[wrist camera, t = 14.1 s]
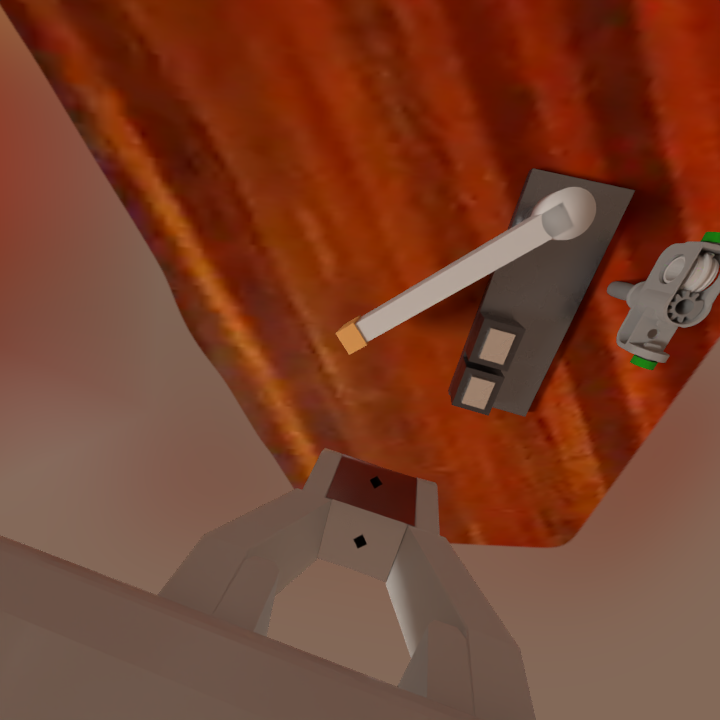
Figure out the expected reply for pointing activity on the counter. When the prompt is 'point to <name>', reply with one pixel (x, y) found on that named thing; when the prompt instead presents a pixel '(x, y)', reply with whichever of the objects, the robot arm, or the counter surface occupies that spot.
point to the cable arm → (478, 263)
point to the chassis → (547, 284)
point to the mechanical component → (668, 298)
